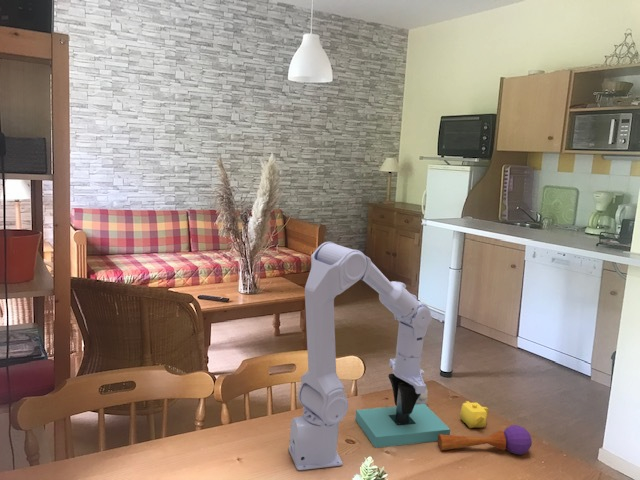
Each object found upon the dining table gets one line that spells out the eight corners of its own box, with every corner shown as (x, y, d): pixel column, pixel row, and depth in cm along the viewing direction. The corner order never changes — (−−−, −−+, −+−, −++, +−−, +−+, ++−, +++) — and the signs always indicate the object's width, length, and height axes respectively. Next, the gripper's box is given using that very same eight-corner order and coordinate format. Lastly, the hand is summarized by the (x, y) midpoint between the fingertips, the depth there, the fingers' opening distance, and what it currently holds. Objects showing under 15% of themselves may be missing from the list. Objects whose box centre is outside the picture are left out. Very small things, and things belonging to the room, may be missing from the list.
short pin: (416, 409, 131) (418, 392, 131) (411, 403, 134) (412, 386, 134) (428, 408, 132) (430, 391, 132) (422, 402, 135) (424, 385, 135)
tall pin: (398, 425, 119) (402, 387, 117) (392, 417, 122) (396, 381, 120) (411, 423, 120) (415, 386, 118) (405, 416, 123) (409, 380, 121)
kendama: (435, 424, 117) (523, 421, 118) (436, 451, 117) (524, 447, 118) (443, 433, 111) (536, 430, 112) (444, 461, 111) (536, 458, 112)
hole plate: (375, 447, 113) (376, 437, 112) (355, 419, 124) (356, 409, 124) (449, 439, 118) (450, 429, 118) (423, 413, 129) (424, 403, 129)
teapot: (494, 433, 123) (497, 412, 122) (472, 434, 121) (475, 413, 120) (477, 415, 130) (480, 396, 129) (456, 416, 129) (458, 397, 128)
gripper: (441, 364, 112) (434, 423, 115) (410, 340, 126) (405, 393, 128) (411, 366, 110) (405, 426, 112) (383, 341, 124) (378, 395, 126)
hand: (403, 409), depth 120 cm, fingers closed on tall pin, 3 cm apart
